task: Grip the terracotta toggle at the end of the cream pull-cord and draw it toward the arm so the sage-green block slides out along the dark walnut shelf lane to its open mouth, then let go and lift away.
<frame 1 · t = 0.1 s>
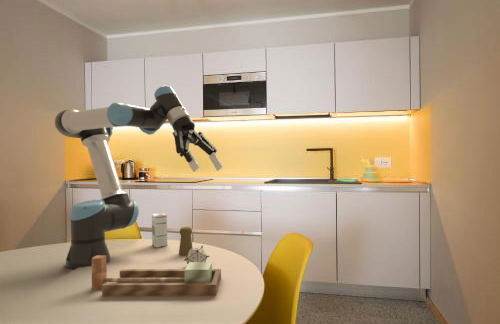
hand: (209, 169, 109), 36 cm above the table, tool tilted 35°, fingers open, 13 cm apart
cork: (186, 253, 133), on the table
game die: (196, 270, 113), on the table
syrup box: (159, 245, 146), on the table
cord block: (152, 271, 95), point 5 cm above the table, slide at 0.0 cm
shelf lane: (165, 289, 95), on the table
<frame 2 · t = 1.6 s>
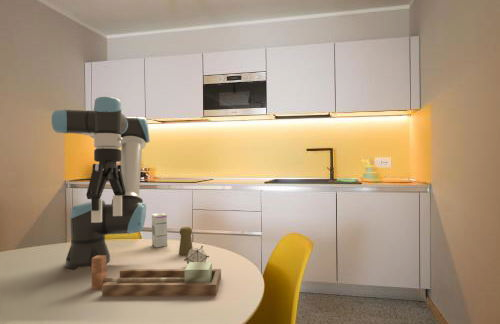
hand: (107, 219, 95), 21 cm above the table, tool pointing down, fingers open, 13 cm apart
nothing on the table moved.
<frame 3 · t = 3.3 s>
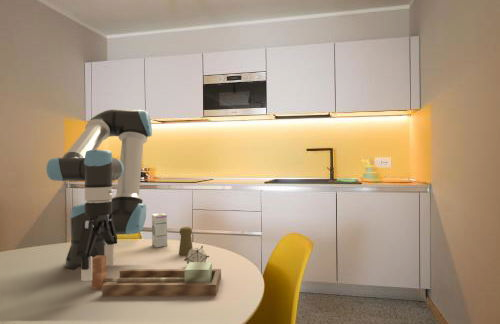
hand: (98, 272, 95), 5 cm above the table, tool pointing down, fingers open, 13 cm apart
nothing on the table moved.
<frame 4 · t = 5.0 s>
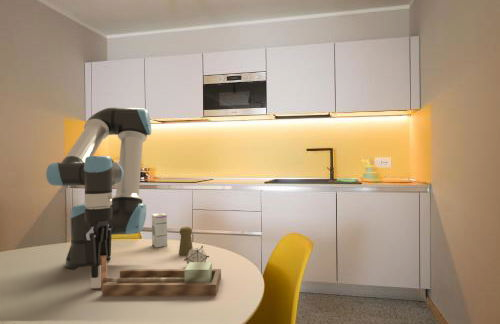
hand: (99, 284, 95), 2 cm above the table, tool pointing down, fingers closed on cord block, 3 cm apart
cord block: (152, 271, 95), point 5 cm above the table, slide at 0.0 cm, touching gripper
everything else where it was.
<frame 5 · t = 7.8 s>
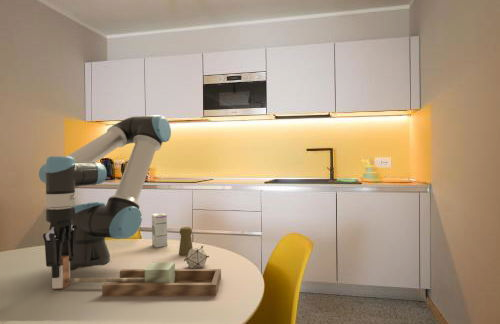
hand: (61, 285, 95), 2 cm above the table, tool pointing down, fingers closed on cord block, 3 cm apart
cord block: (114, 271, 95), point 6 cm above the table, slide at 11.5 cm, touching gripper
everything else where it was.
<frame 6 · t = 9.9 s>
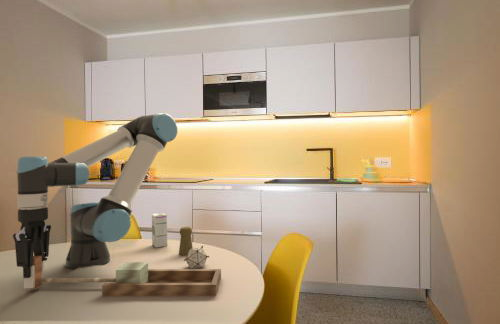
hand: (33, 285, 95), 2 cm above the table, tool pointing down, fingers closed on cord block, 3 cm apart
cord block: (86, 271, 95), point 5 cm above the table, slide at 19.9 cm, touching gripper
everything else where it was.
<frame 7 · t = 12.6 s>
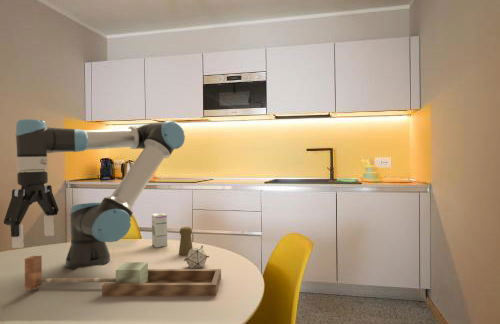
hand: (34, 241, 95), 15 cm above the table, tool pointing down, fingers open, 13 cm apart
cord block: (86, 271, 95), point 6 cm above the table, slide at 20.0 cm
everything else where it was.
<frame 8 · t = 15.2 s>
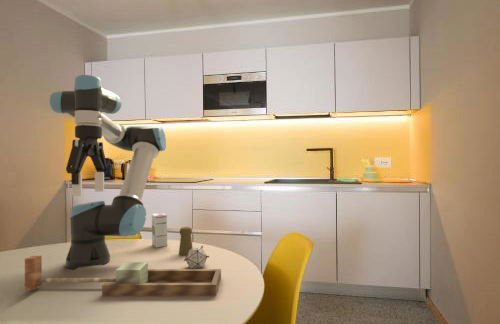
hand: (89, 193, 99), 29 cm above the table, tool pointing down, fingers open, 13 cm apart
nothing on the table moved.
at the end: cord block slide at 20.0 cm; the gripper is holding nothing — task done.
